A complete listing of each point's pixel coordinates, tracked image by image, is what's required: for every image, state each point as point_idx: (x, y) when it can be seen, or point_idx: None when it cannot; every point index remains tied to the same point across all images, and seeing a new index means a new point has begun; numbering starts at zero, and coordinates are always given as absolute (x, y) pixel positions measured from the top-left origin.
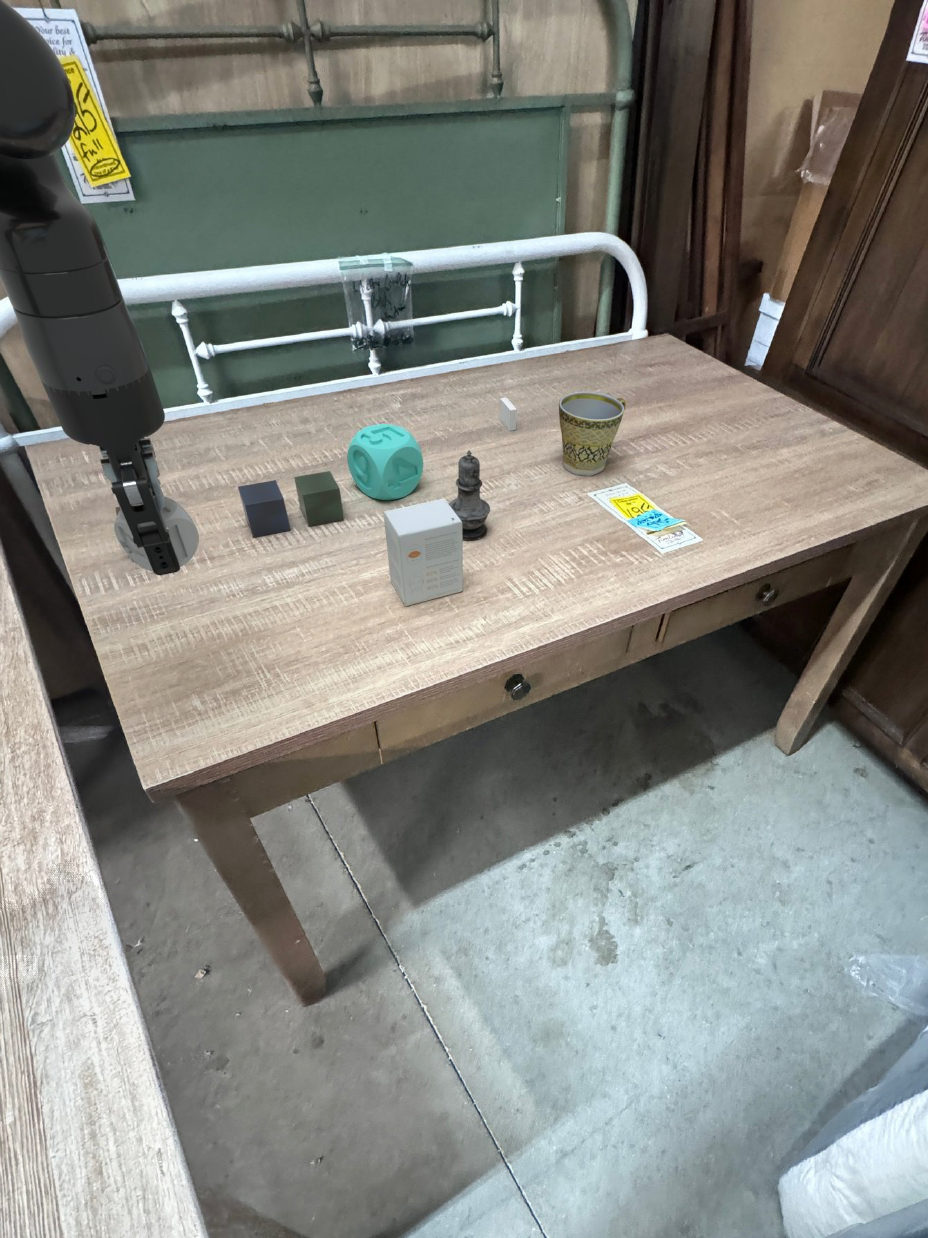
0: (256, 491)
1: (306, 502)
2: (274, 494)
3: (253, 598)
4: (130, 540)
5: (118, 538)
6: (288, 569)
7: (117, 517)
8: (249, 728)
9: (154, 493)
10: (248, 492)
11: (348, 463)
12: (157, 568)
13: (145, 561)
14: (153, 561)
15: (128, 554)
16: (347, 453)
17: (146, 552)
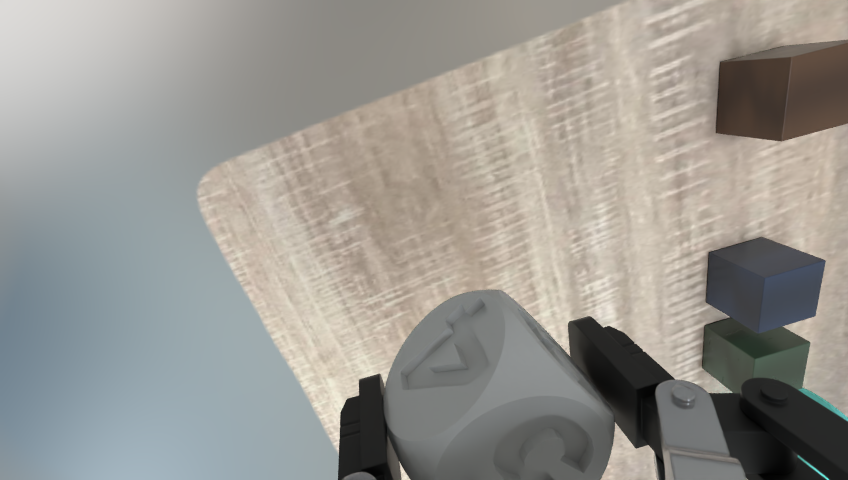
0: (796, 291)
1: (741, 353)
2: (774, 319)
3: (562, 267)
4: (449, 365)
5: (491, 309)
6: (614, 307)
7: (512, 382)
8: (285, 291)
9: (640, 433)
10: (799, 279)
11: (815, 398)
12: (342, 416)
13: (410, 355)
14: (340, 434)
15: (464, 297)
16: (834, 411)
17: (360, 435)
